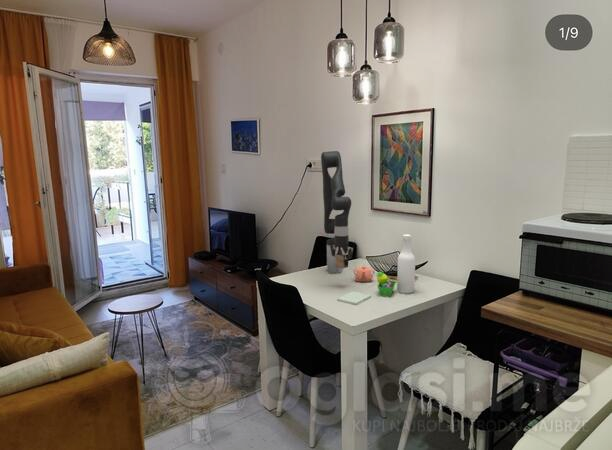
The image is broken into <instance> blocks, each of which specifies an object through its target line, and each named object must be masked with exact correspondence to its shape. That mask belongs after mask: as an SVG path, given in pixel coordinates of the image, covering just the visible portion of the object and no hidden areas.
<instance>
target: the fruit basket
mask: <svg viewBox="0 0 612 450" xmlns="http://www.w3.org/2000/svg"><path fill="white" fill-rule="evenodd" d="M376 277H377V278H376V279H377V283H378V285H377V289H378V292H379V296H381V297H391V296H392V294H393V292H394V289H395V285H396V281H394V280H389V278H388V276H387V275H386V274H385V273H384V272H383V271H379V272H377V275H376Z"/></svg>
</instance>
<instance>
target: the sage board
mask: <svg viewBox="0 0 612 450" xmlns="http://www.w3.org/2000/svg"><path fill="white" fill-rule="evenodd" d="M370 298H372V294H371V295H370V294H366V293H362V292H358V291H350V292H348V293H346V294H345V295H342V296H339V297H337V298H336V301H338V302H342V303H345V304H349V305H353V306H354V305H355V306H357V305H359V304H361V303H363V302H365V301H367V300H369V299H370Z"/></svg>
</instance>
